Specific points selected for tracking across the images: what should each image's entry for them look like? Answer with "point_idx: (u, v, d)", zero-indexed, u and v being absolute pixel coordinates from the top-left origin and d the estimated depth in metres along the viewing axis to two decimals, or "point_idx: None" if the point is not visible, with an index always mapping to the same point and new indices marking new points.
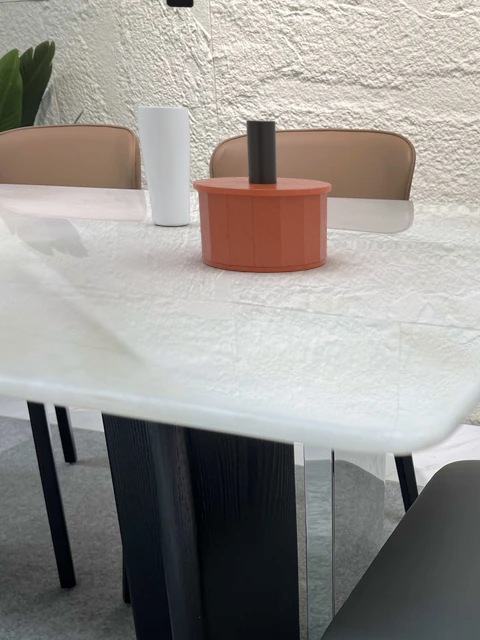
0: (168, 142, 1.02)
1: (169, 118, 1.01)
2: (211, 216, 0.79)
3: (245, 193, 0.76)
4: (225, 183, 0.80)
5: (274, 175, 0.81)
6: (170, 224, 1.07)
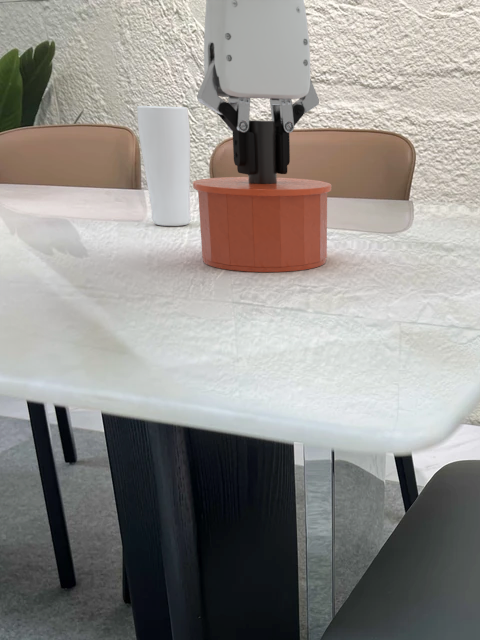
0: (168, 142, 1.02)
1: (169, 118, 1.01)
2: (211, 216, 0.79)
3: (245, 193, 0.76)
4: (225, 183, 0.80)
5: (274, 175, 0.81)
6: (170, 224, 1.07)
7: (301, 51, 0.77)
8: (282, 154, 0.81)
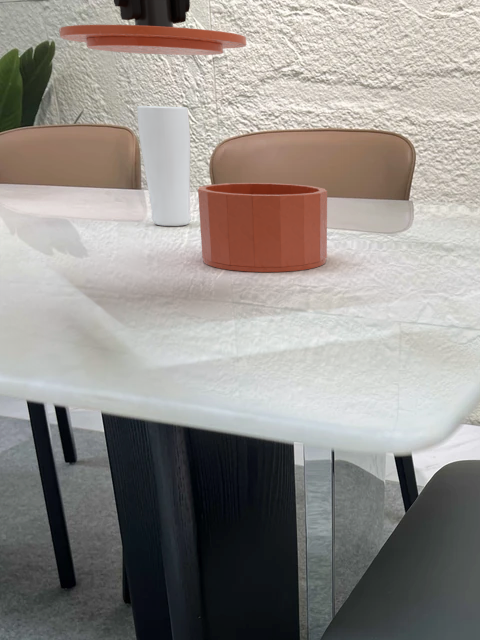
0: (168, 142, 1.02)
1: (169, 118, 1.01)
2: (211, 216, 0.79)
3: (119, 31, 0.56)
4: None
5: (168, 21, 0.62)
6: (170, 224, 1.07)
7: None
8: None
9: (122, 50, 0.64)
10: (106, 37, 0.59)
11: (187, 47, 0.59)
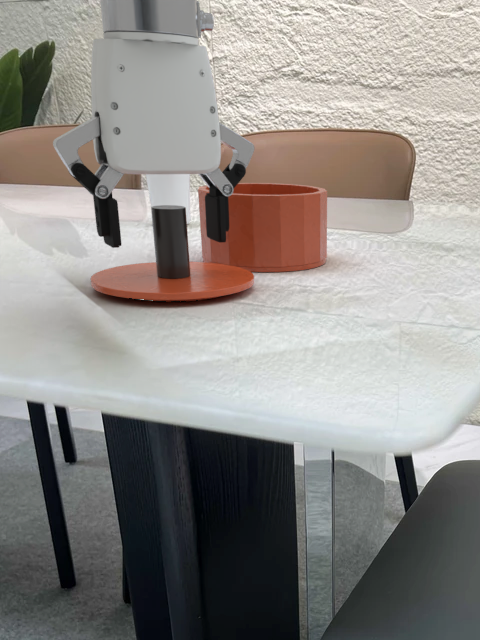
0: None
1: None
2: None
3: (145, 297, 0.65)
4: (128, 279, 0.69)
5: (186, 268, 0.70)
6: None
7: (207, 120, 0.65)
8: (219, 220, 0.70)
9: None
10: None
11: (203, 299, 0.68)
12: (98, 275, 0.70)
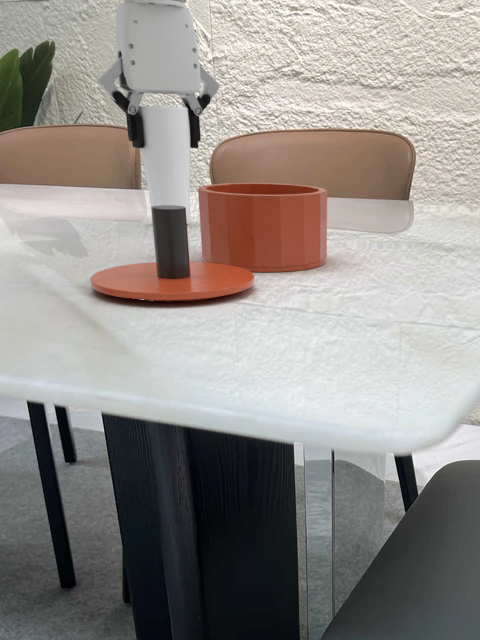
0: (168, 142, 1.02)
1: (169, 118, 1.01)
2: (211, 216, 0.79)
3: (145, 297, 0.65)
4: (128, 279, 0.69)
5: (186, 268, 0.70)
6: None
7: (191, 57, 1.00)
8: (193, 132, 1.05)
9: None
10: None
11: (203, 299, 0.68)
12: (98, 275, 0.70)
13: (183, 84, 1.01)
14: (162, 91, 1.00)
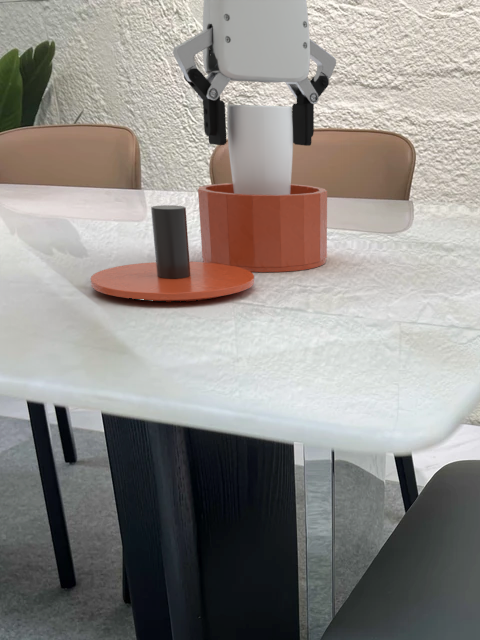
0: (268, 152, 0.78)
1: (270, 120, 0.77)
2: (211, 216, 0.79)
3: (145, 297, 0.65)
4: (128, 279, 0.69)
5: (186, 268, 0.70)
6: None
7: (301, 33, 0.76)
8: (306, 125, 0.81)
9: None
10: None
11: (203, 299, 0.68)
12: (98, 275, 0.70)
13: (289, 69, 0.77)
14: (262, 78, 0.76)
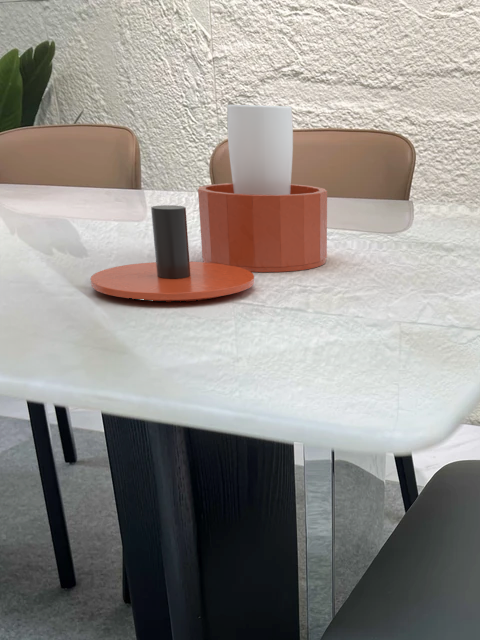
0: (268, 152, 0.78)
1: (270, 120, 0.77)
2: (211, 216, 0.79)
3: (145, 297, 0.65)
4: (128, 279, 0.69)
5: (186, 268, 0.70)
6: None
7: None
8: None
9: None
10: None
11: (203, 299, 0.68)
12: (98, 275, 0.70)
13: None
14: None
